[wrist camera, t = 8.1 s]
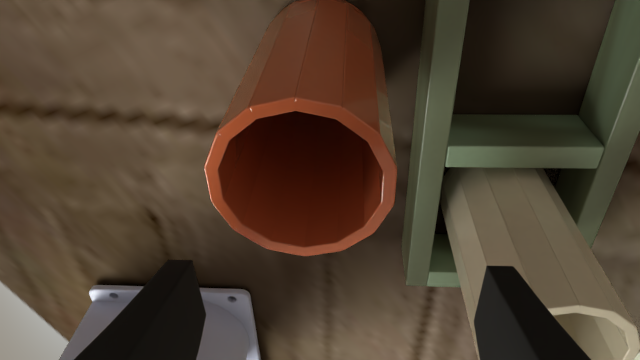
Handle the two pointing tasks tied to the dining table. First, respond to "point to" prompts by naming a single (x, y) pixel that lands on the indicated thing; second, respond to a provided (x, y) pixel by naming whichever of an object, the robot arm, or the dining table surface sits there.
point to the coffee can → (639, 358)
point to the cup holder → (516, 136)
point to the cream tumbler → (533, 254)
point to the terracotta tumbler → (308, 135)
